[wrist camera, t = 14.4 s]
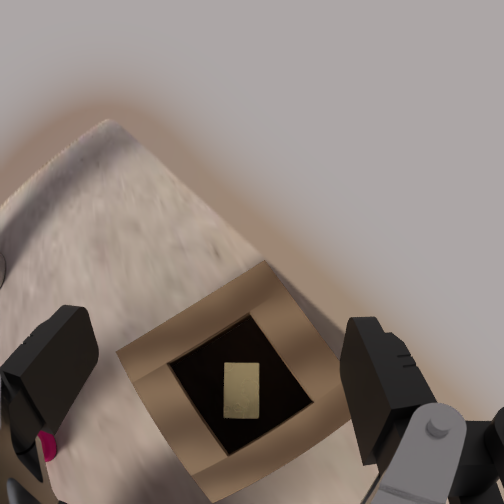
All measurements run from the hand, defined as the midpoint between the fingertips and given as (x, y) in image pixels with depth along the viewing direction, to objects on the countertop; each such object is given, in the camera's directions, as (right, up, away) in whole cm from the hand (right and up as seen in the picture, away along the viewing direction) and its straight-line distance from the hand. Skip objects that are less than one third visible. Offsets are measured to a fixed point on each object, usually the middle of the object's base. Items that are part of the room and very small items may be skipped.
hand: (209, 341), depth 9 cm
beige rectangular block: (+1, -13, +25) cm, 29 cm away
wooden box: (0, -13, +25) cm, 29 cm away
